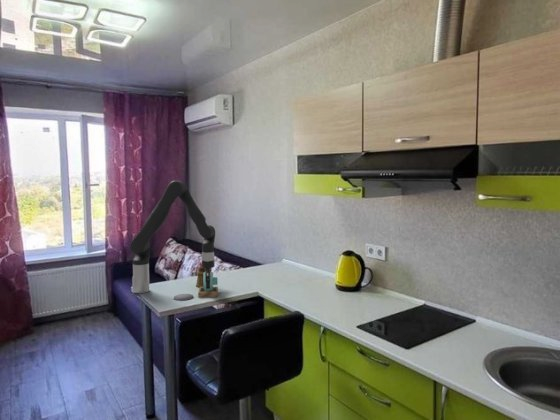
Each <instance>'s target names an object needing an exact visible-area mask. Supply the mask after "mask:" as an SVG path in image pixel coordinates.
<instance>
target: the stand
mask: <svg viewBox="0 0 560 420" xmlns="http://www.w3.org/2000/svg"><path fill="white" fill-rule="evenodd" d="M197 293H198V294H197V296H198V298H218V296H219V295H218V293H219V287H218V286H213V291H210V292H204V287H200V288H199V287H198V292H197Z"/></svg>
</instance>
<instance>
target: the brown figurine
mask: <svg viewBox="0 0 560 420" xmlns="http://www.w3.org/2000/svg"><path fill="white" fill-rule="evenodd" d="M205 270H206V268H203V267H200V268H198V270H197V278H196V284H195V287H196V288H198V289H199V288H200V287H204V278H203V273H204V272H205Z"/></svg>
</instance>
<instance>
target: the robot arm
mask: <svg viewBox="0 0 560 420" xmlns="http://www.w3.org/2000/svg"><path fill="white" fill-rule="evenodd" d="M177 198H179V199H180V200H181V202H182V203H183V204H184V207H185V209H186V211H187V214H188V216H189V217H190V219H191V220H192V222H193V223H194V224H195V226H196V229H197V231H198V234H199V235H200V236H201V238H203V242H202V244H201V268H206V270H205V278H206V281H205V282H206V289H210V278H211V273H212V272H213V271H212V268H213V269H214V267H215V246H214V245H215V239H216V229H215V227H214V226H213V225H212V224H211V225H208V224H207V222H206V217H205V215H204V214H203V213H202V211H201V209H200V208H199V206H198V205H197V203H196V202H195V200H194V198H193V197H192V194H191V192H190V191H189V189H188V187H187V185H186V183H185V182H184V181H181V180H172V181H170V183H168V185H167V187H166V188H165V191H164V192H163V195H162V196H161V198H160V199H159V201H158V202H157V204H156V205H155V207H154V208H153V209H152V210H151V213H150V214H149V216H148V217H147V219H146V221H145V222H144V224H143V226H141V228H140V231H139V232H138V233H137V234H136V236H135V237H134V238H133V239H132V241H131V242H130V244H129V249H130V251H131V252H132V253H133V254H135V255H134V257H133V259H132V277H131V281H132V282H131V283H132V287H131V290H132V293H134V294H145V293H148V292H149V291H150V257H151V243H150V239H151V238H152V236H153V235H154V234H155V233H157V231H159V229H160V228H161V227H163V225H164V223H165V222H166V221H167V218H168V217H169V214H170V210H171V207H172V205H173V203H174V202H175V201H176V199H177ZM207 279H209V280H207Z"/></svg>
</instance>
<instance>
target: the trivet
mask: <svg viewBox="0 0 560 420" xmlns="http://www.w3.org/2000/svg"><path fill="white" fill-rule="evenodd" d="M192 299H194V295H193V294H190V293H180V294H176V295H174V296H173V300H175V301H181V302H182V301H189V300H190V301H191V300H192Z"/></svg>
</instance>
